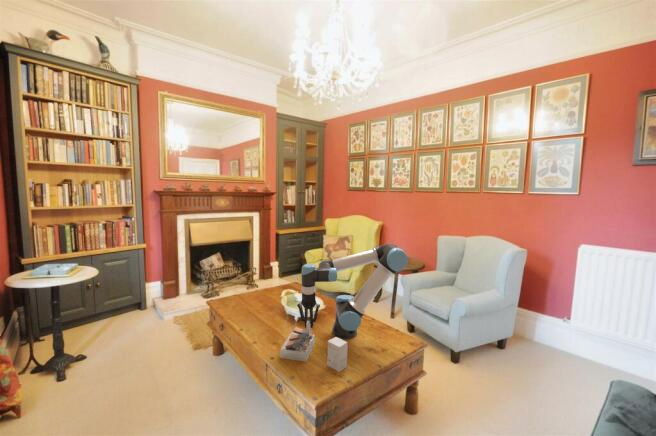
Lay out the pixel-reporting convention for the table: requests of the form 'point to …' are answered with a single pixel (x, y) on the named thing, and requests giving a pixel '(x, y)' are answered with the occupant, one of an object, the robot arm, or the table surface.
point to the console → (298, 349)
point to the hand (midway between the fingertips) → (309, 332)
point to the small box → (337, 354)
